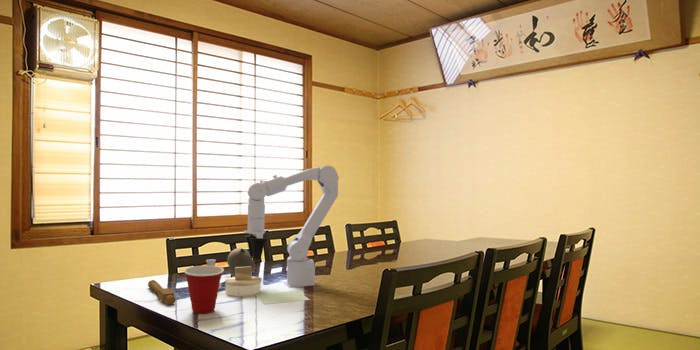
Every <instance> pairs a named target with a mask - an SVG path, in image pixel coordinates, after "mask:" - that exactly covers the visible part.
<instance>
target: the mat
mask: <svg viewBox="0 0 700 350" xmlns="http://www.w3.org/2000/svg"><path fill="white" fill-rule="evenodd" d="M254 296H256V298H258V299H259V300H260V301H261V303H262V304H263V305H272V304H281V303H282V304H283V303H292V302H301V301H302V302H303V301H304V302H305V301H310V300H311V299H310V298H309V297H307V296H305V295H304V294H303V293H301V292H300V291H299V290H290V291H289V290H287V291H278V292H267V293H266V292H265V293H264V292H263V293H256V294H254Z"/></svg>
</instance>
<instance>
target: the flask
mask: <svg viewBox="0 0 700 350" xmlns="http://www.w3.org/2000/svg"><path fill="white" fill-rule="evenodd" d="M205 262H206V266H216V262H217V259H213V258H211V259H206V260H205ZM222 286H223V285H222V284H221V282H220V283H219V289H218V290H221V289H222V288H223V287H222Z"/></svg>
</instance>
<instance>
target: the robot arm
mask: <svg viewBox="0 0 700 350" xmlns="http://www.w3.org/2000/svg"><path fill="white" fill-rule="evenodd" d="M308 180H309V181H317V182H318V184H319V186H320V188H321V190H322V195H321V196H320V198H319V200H318V201H317V203H316V205H315V207H314V209H313V210H312V211H311V213H310V215H309V217H308V218H307V219H306V222H305V224H303V227H302V228H301V230H300V231H299V232H298V233H297V234H296V235H295V238H293V239H292V240H290V241H289V242H288V244H287V246H286V250H287V254H289V256H288V257H287V259H286V267H287V269H286V273H287V274H286V280H287V281H285V282H283V284H284V285H285V286H287V287H288V288H300V287H308V286H309V287H310V286H312V287H313V286H316V274H315V273H316V265H315V262H314V259H312V258H311V259H310V258H308V255H309V248H310V246H311V244H312V241H313V238H314V236H315V234H316V233H317V231H318V230H319V228H320V226H321V224H322V223H323V221H324V220H325V218H326V216H327V214H328V212H329V211H330V209H331V208H332V206H333V204H334V203H335V201H336V200H337V198H338V196H339V175H338V172H337V170H336V168H335V167H334V166H332V165H329V164H328V165H322V166H317V167H313V168H307V169H305V170H302V171H299V172H296V173H294V174H290V175H289V176H285V177H284V176H282V175H277V174H274V175H272V177H270V178H268V179H265V180H263V179H261V180H259V182H256V183H252V184H251V185H250V186H249V187H248V190H247V195H248V197H249V198H248V205H247V230H244V231H243V233H244V234H249V235H244V238H245V240H246V242H247V247H248V252H249V253H250V256H252V257H253V260H261V259H262V255H263V251H264V247H265V245H266V242H267V240H268V238H264V234H265V233H266V230H265V217H266V216H265V211H266V206H265V205H266V204H265V197H266V196H267V197H270V196H273V195H277V194H279V193H283V192H285V191H286V190H287V187H289V186H291V185H295V184H299V183H301V182H304V181H308Z"/></svg>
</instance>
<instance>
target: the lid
mask: <svg viewBox="0 0 700 350" xmlns="http://www.w3.org/2000/svg"><path fill="white" fill-rule="evenodd" d="M252 271H253V268H252V267H251V266H246V267H235V277H233V276H231V277H229V278H228V277H227V278H226V279H225V282H226V284H227V285H232V286H247V285H254V284H258V283H260V284H261V282H262V278H261V277H259V276H254V275H253V274H252V273H253V272H252Z"/></svg>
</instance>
